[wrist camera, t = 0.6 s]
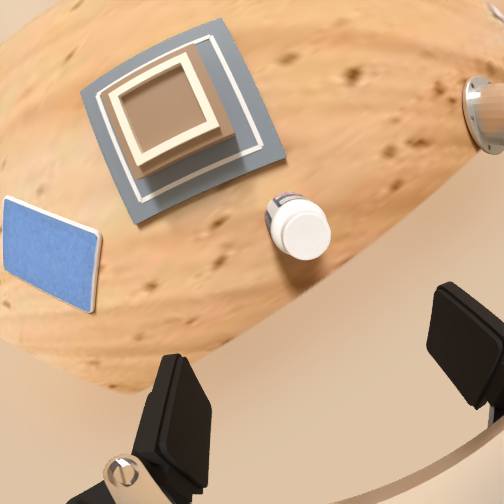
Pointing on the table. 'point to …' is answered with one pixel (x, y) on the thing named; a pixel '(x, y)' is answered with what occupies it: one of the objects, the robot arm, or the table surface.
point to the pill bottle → (297, 226)
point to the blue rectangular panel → (51, 253)
